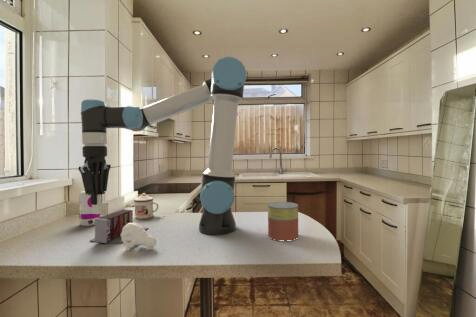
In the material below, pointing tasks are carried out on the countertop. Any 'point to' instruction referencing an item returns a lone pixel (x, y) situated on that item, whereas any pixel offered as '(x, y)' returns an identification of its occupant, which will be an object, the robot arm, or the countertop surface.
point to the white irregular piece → (136, 237)
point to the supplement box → (112, 225)
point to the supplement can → (86, 210)
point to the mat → (116, 239)
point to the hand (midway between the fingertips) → (97, 213)
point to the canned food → (283, 220)
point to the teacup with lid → (144, 207)
